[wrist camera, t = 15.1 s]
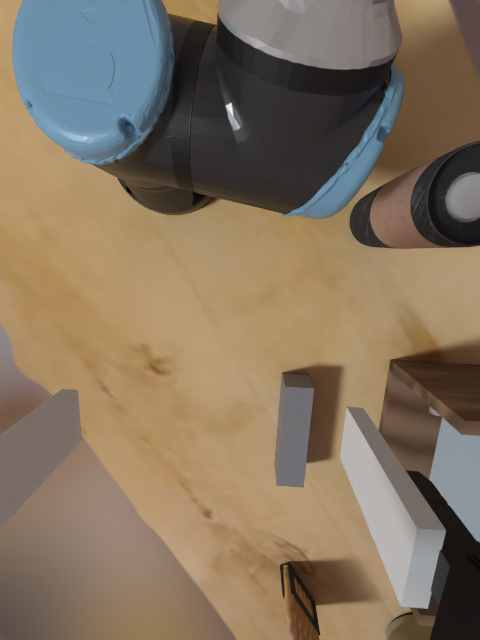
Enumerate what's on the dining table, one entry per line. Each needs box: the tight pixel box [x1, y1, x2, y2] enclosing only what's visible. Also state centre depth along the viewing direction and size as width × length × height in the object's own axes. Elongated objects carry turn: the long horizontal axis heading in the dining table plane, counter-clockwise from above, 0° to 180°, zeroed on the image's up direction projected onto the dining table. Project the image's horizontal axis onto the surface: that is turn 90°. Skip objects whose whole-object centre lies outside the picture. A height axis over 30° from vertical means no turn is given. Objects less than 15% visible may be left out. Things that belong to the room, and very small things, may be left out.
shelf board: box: [429, 417, 480, 542], centre depth 39 cm, size 22×7×4 cm, turn 177°
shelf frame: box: [379, 360, 480, 626], centre depth 41 cm, size 26×14×17 cm, turn 177°
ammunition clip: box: [280, 562, 320, 640], centre depth 51 cm, size 11×2×12 cm, turn 29°
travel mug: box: [350, 141, 480, 249], centre depth 33 cm, size 8×8×20 cm
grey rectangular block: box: [275, 373, 314, 487], centre depth 47 cm, size 16×4×5 cm, turn 177°
